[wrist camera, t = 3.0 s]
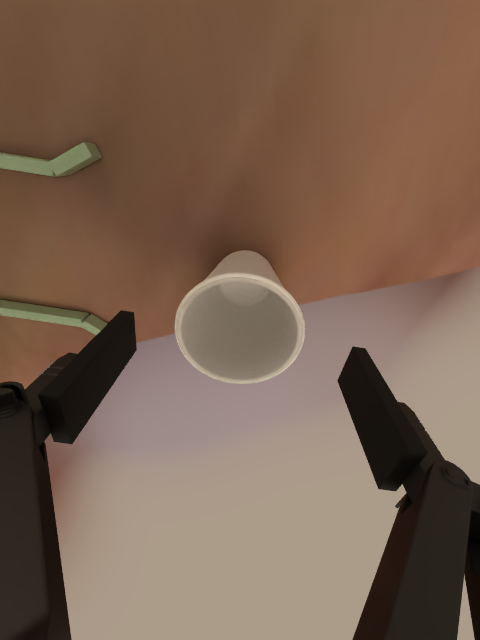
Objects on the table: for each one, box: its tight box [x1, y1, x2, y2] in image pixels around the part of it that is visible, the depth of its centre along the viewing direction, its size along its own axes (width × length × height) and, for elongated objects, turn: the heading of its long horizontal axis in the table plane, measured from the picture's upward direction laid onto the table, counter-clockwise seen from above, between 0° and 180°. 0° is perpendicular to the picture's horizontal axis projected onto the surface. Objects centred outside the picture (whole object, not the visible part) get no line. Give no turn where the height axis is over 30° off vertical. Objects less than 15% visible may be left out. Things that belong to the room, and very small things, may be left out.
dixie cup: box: [175, 250, 305, 384], centre depth 21 cm, size 8×8×10 cm
